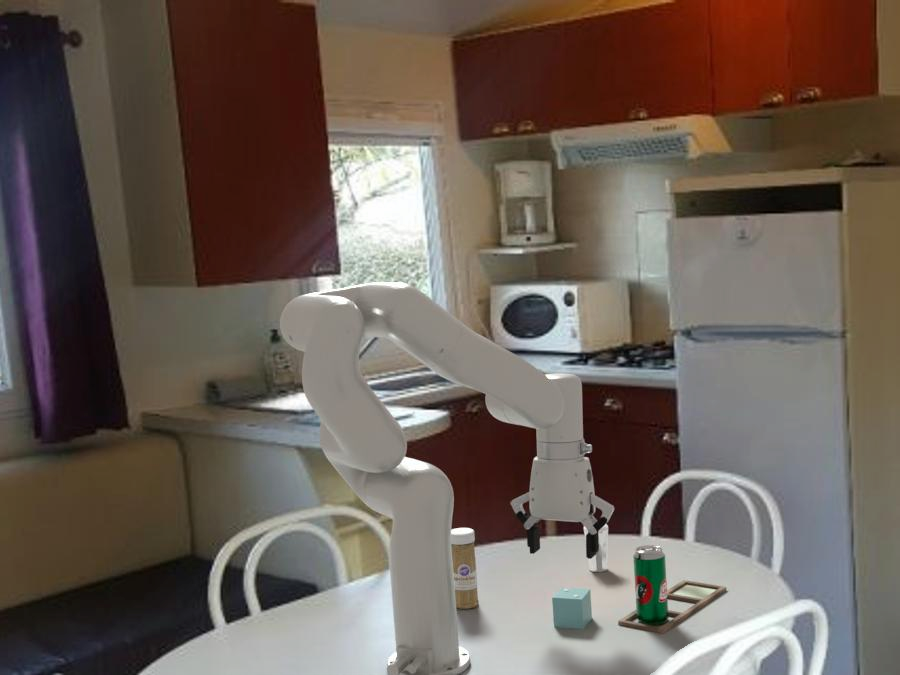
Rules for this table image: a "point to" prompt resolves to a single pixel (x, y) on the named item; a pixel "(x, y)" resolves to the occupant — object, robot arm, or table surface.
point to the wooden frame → (683, 592)
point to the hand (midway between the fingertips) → (562, 554)
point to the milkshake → (599, 551)
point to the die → (572, 608)
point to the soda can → (650, 585)
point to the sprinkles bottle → (464, 567)
